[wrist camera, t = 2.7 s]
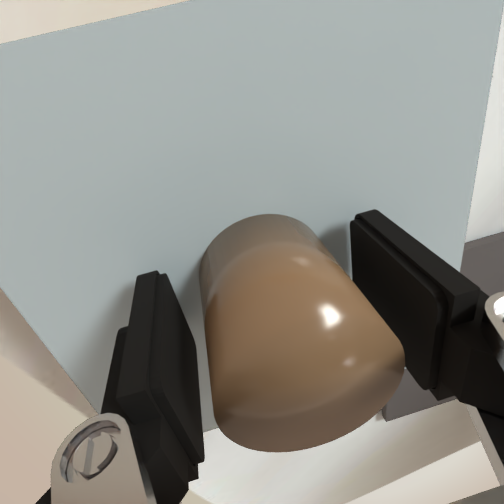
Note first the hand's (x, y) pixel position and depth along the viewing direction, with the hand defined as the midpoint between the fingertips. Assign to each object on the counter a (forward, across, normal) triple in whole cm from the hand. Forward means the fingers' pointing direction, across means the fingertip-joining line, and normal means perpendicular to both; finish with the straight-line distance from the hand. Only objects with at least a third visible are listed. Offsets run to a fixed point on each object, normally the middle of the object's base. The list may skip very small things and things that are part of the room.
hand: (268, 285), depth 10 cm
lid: (+1, 0, 0) cm, 1 cm away
